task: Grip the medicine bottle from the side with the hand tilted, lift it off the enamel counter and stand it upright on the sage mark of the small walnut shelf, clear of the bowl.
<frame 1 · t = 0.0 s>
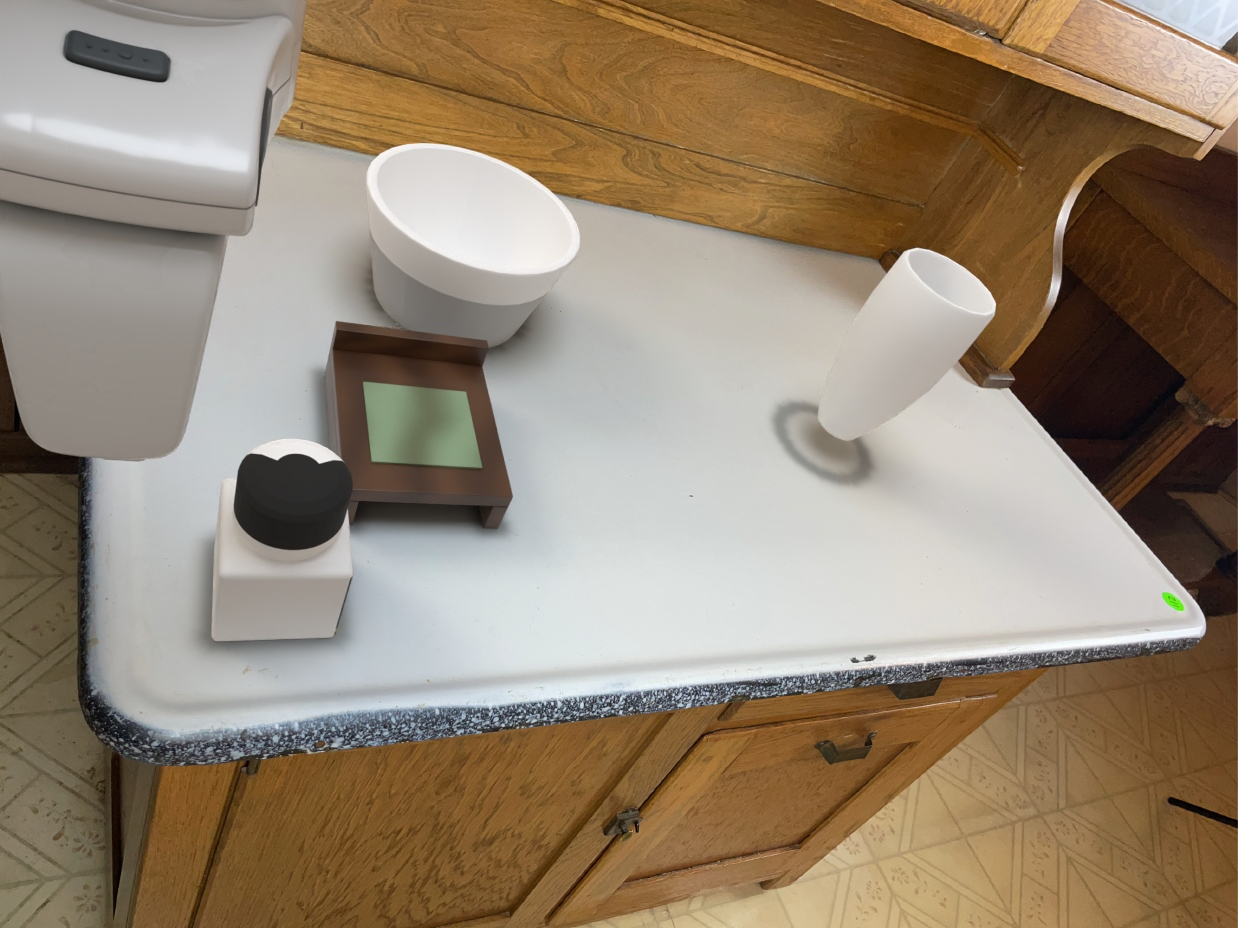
hand: (135, 357, 34), 23 cm above the worktop, tool pointing down, fingers open, 8 cm apart
cup: (820, 444, 90), on the worktop
bowl: (448, 302, 82), on the worktop
shelf: (408, 451, 67), on the worktop
medicine bottle: (273, 594, 55), on the worktop
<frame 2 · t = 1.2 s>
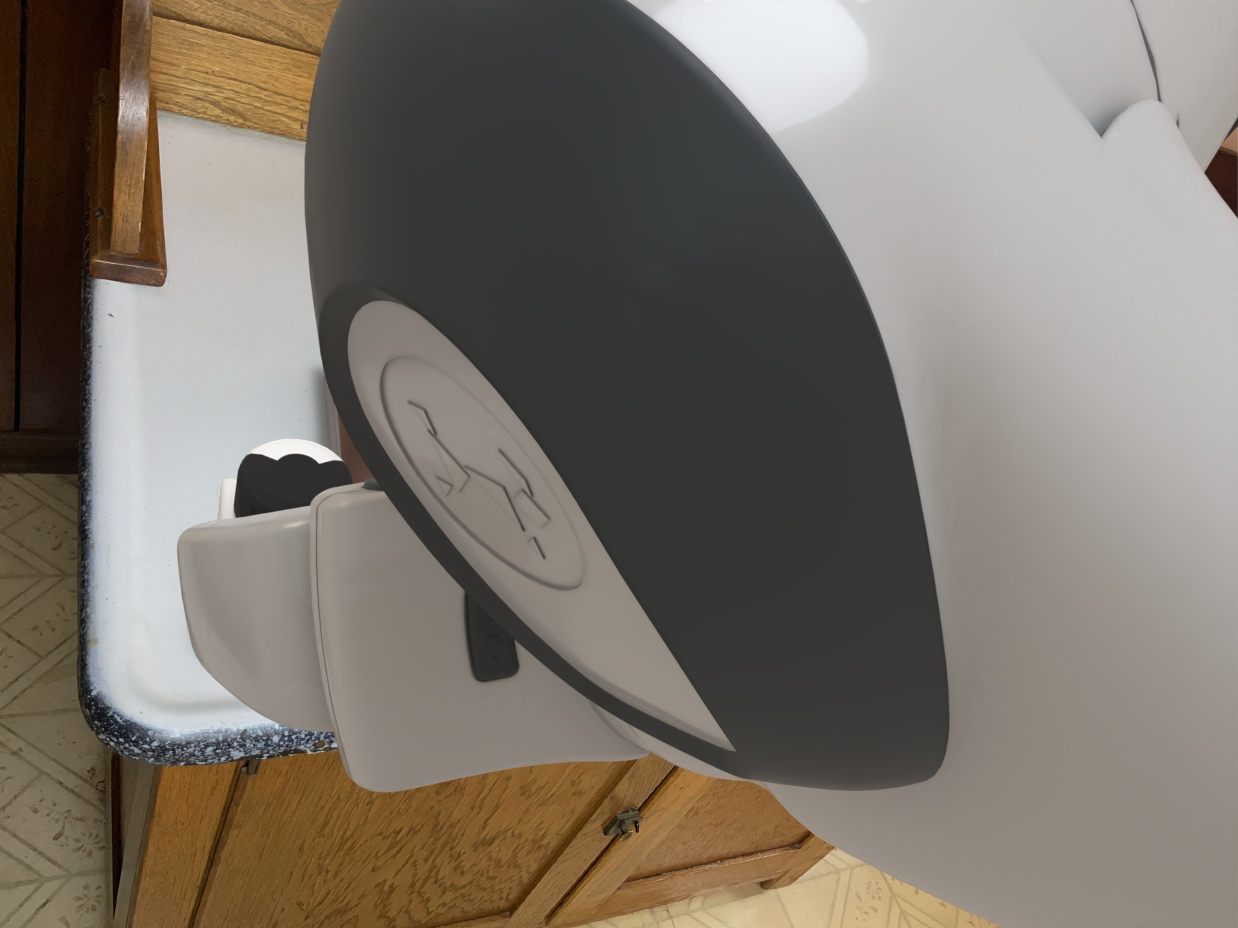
hand: (437, 510, 33), 24 cm above the worktop, tool tilted 45°, fingers open, 8 cm apart
nothing on the worktop moved.
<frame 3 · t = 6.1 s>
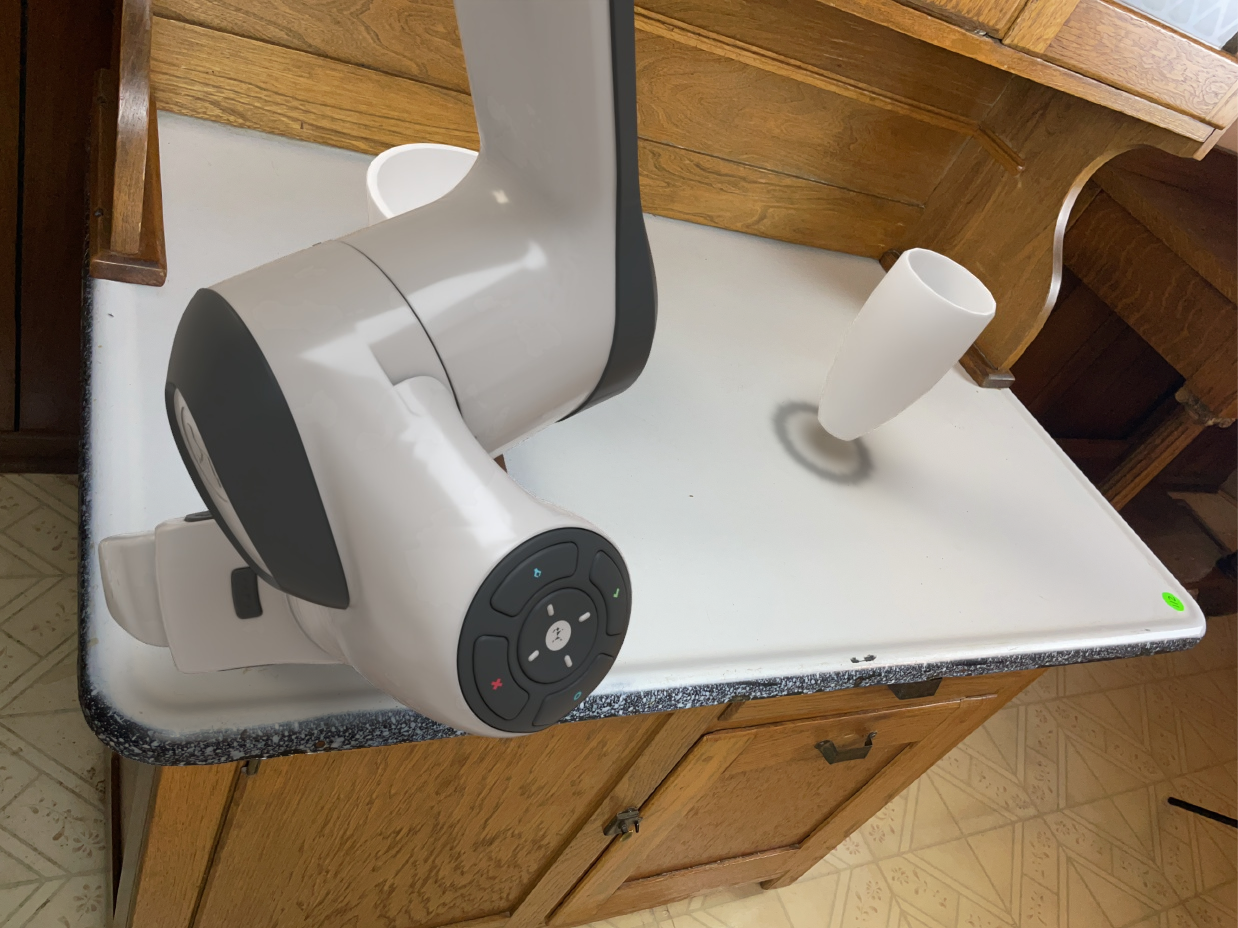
hand: (285, 525, 51), 6 cm above the worktop, tool tilted 45°, fingers closed on medicine bottle, 8 cm apart
medicine bottle: (276, 592, 55), on the worktop, touching gripper
everything else where it was.
when the fingers open (11 cm above the worktop, at t = 13.7 s): medicine bottle stays where it is, resting on shelf.
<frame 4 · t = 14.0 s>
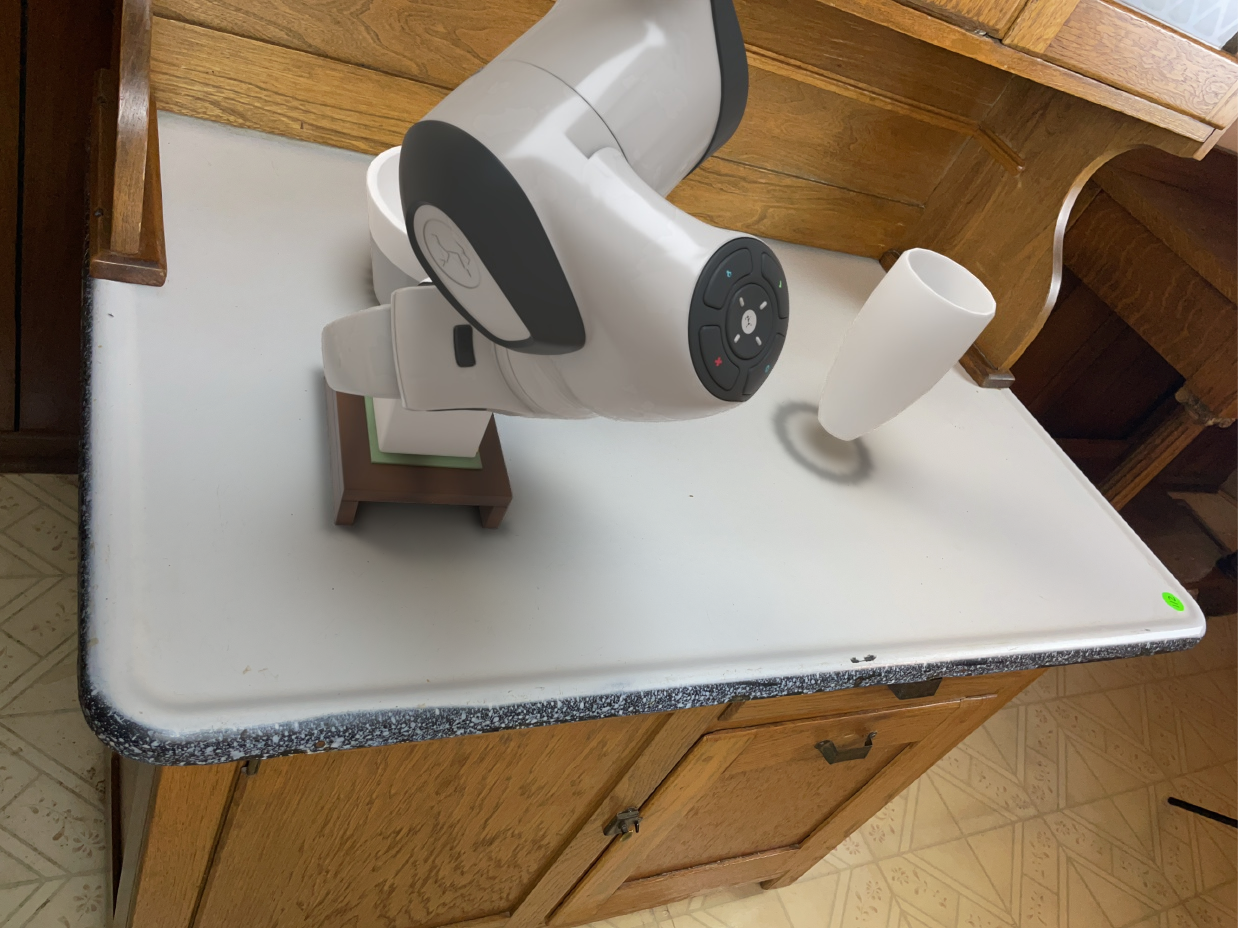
hand: (440, 352, 60), 11 cm above the worktop, tool tilted 45°, fingers open, 8 cm apart
medicine bottle: (421, 423, 64), point 4 cm above the worktop, touching gripper, shelf
everything else where it was.
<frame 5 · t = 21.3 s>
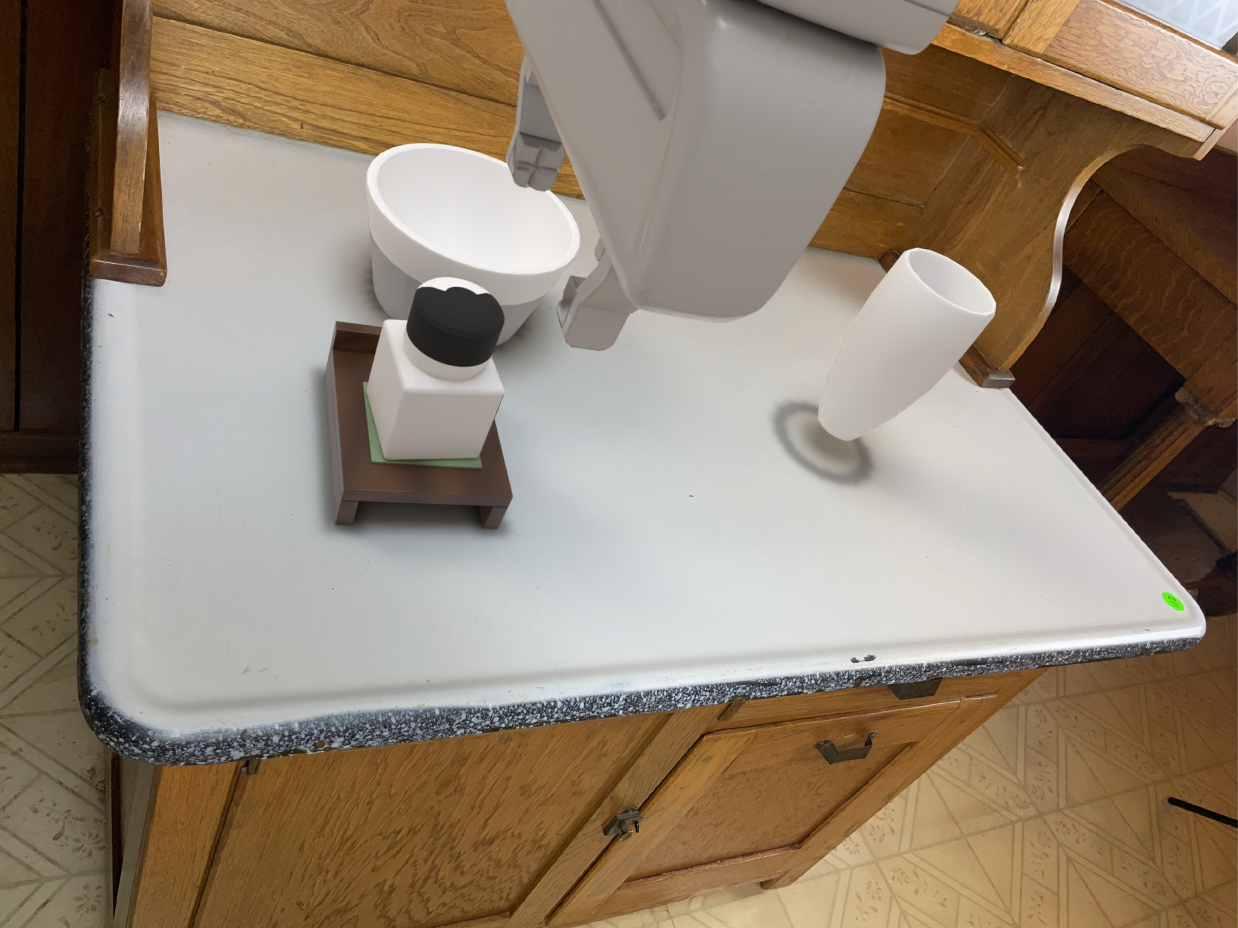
hand: (551, 250, 31), 33 cm above the worktop, tool pointing down, fingers open, 8 cm apart
medicine bottle: (421, 427, 64), point 4 cm above the worktop, touching shelf
everything else where it was.
at the end: medicine bottle inside the target area on the shelf (0.1 cm from its centre), point 4.0 cm above the shelf's base; medicine bottle tilted 0°; medicine bottle touching shelf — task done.
